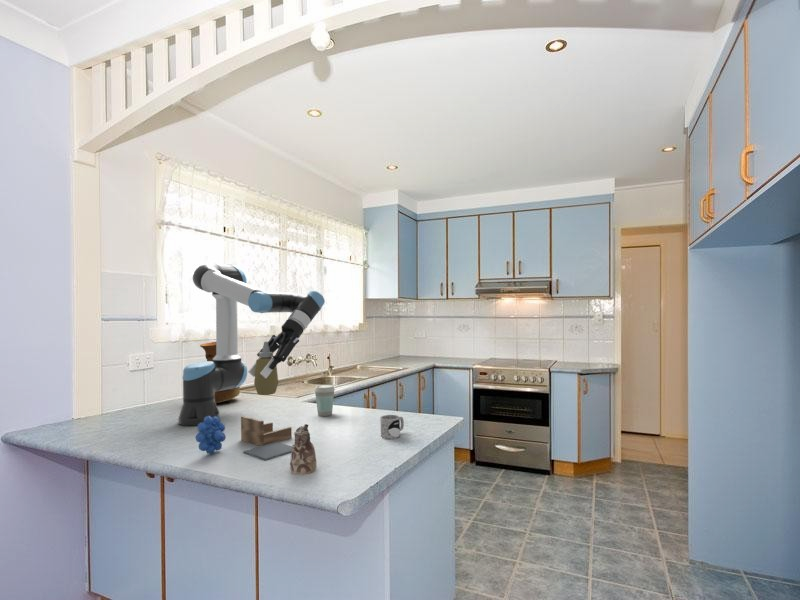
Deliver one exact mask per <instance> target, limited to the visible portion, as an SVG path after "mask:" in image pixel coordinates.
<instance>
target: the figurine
mask: <svg viewBox="0 0 800 600" xmlns="http://www.w3.org/2000/svg"><path fill="white" fill-rule="evenodd" d="M291 446H292V447H293V448H292V452H291V456H290V462H289V468H290V469H289V470H290V472H291V474H292V473H293V474H292V475H297V474H301V475H308V474H309V475H310V474H312V473H314V472H315V471H316V469H317V457H316V450H315V446H314V444H313V443H312V442H311V434H310V432H309V424H306V423H305V424H304V426H299V427H298V428H297V429H296V430H295V431H294V444H292V445H291Z"/></svg>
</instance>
